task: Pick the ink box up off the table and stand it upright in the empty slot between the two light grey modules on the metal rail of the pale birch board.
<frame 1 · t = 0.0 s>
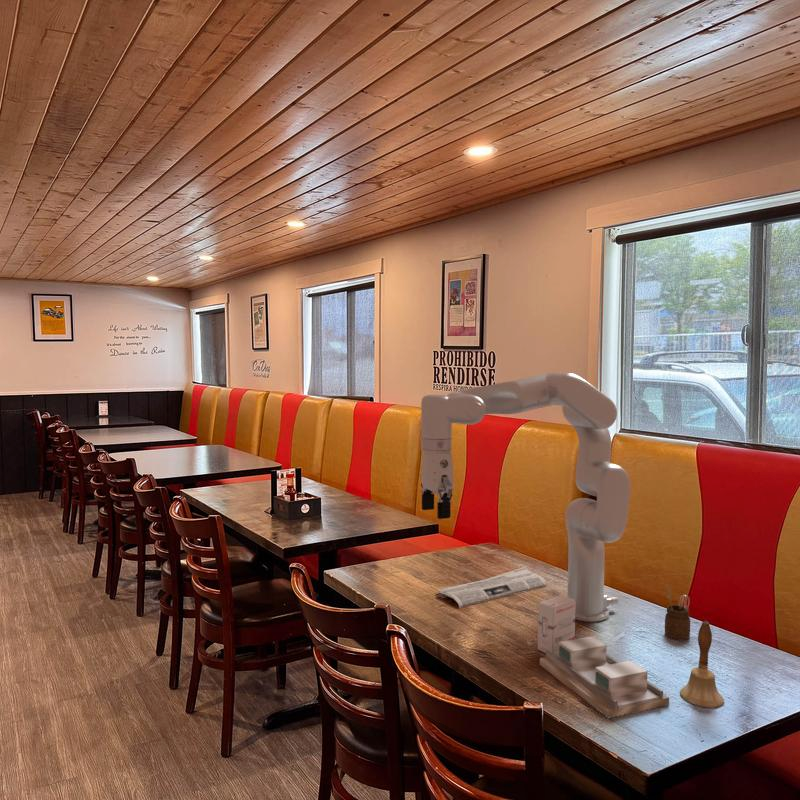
hand: (435, 513, 163), 31 cm above the table, tool pointing down, fingers open, 9 cm apart
rail board: (600, 683, 141), on the table
utensil holder: (676, 636, 166), on the table
ink box: (556, 649, 158), on the table
hand bell: (701, 698, 136), on the table
newspaper: (492, 592, 198), on the table
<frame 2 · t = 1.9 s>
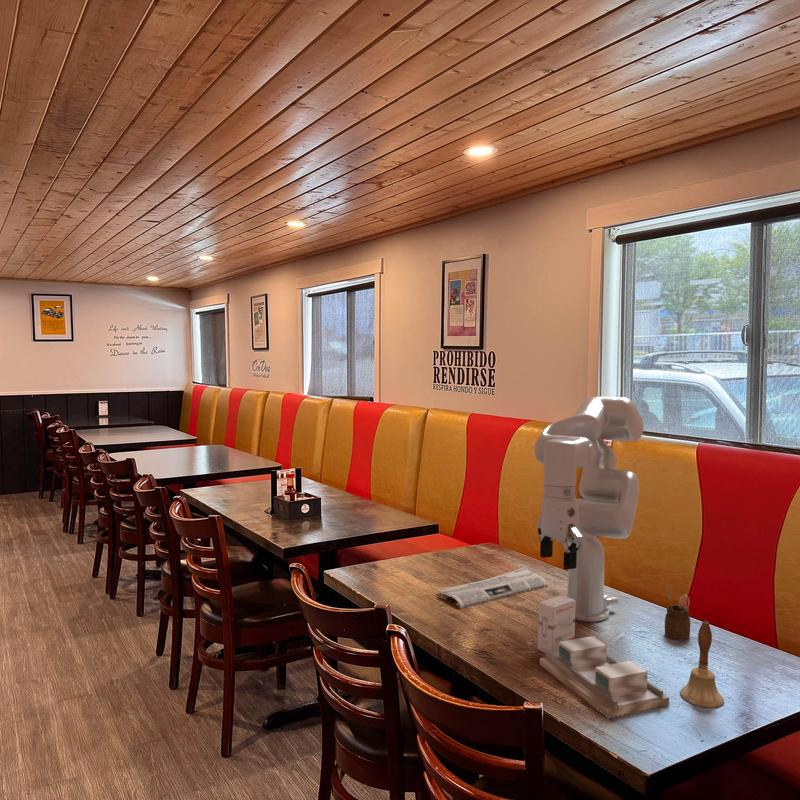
hand: (557, 562, 157), 21 cm above the table, tool pointing down, fingers open, 9 cm apart
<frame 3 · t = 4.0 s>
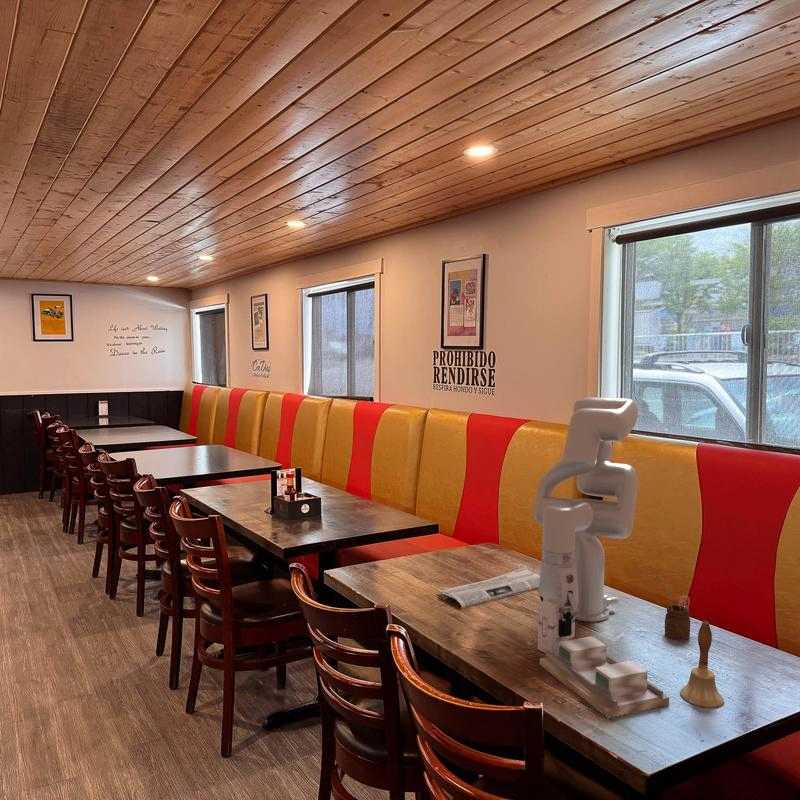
hand: (556, 629, 158), 5 cm above the table, tool pointing down, fingers closed on ink box, 6 cm apart
ink box: (556, 649, 158), on the table, touching gripper
everything else where it was.
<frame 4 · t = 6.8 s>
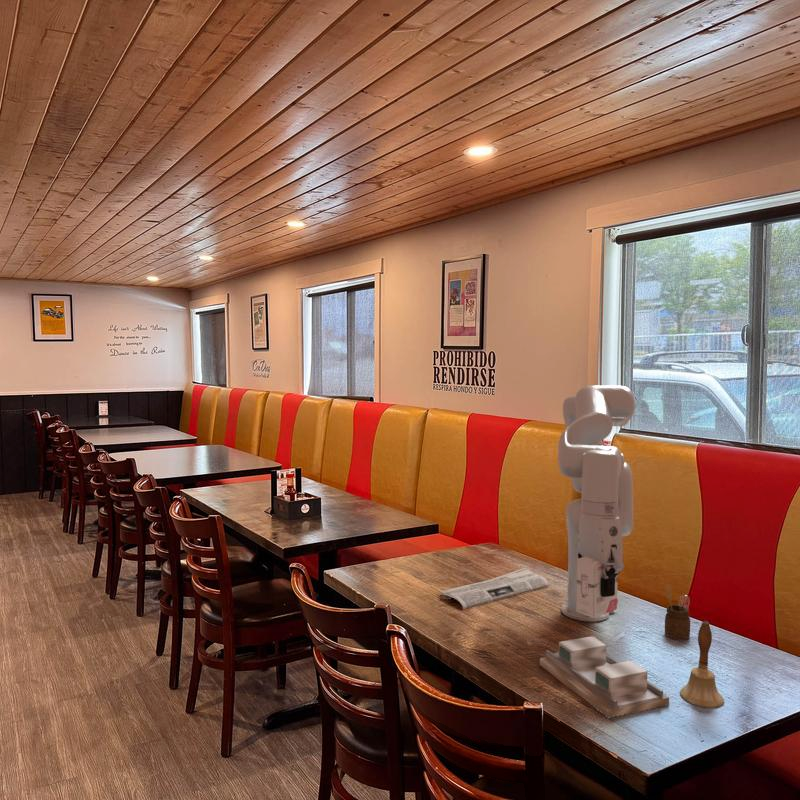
hand: (597, 589, 142), 20 cm above the table, tool pointing down, fingers closed on ink box, 6 cm apart
ink box: (596, 611, 142), point 15 cm above the table, touching gripper
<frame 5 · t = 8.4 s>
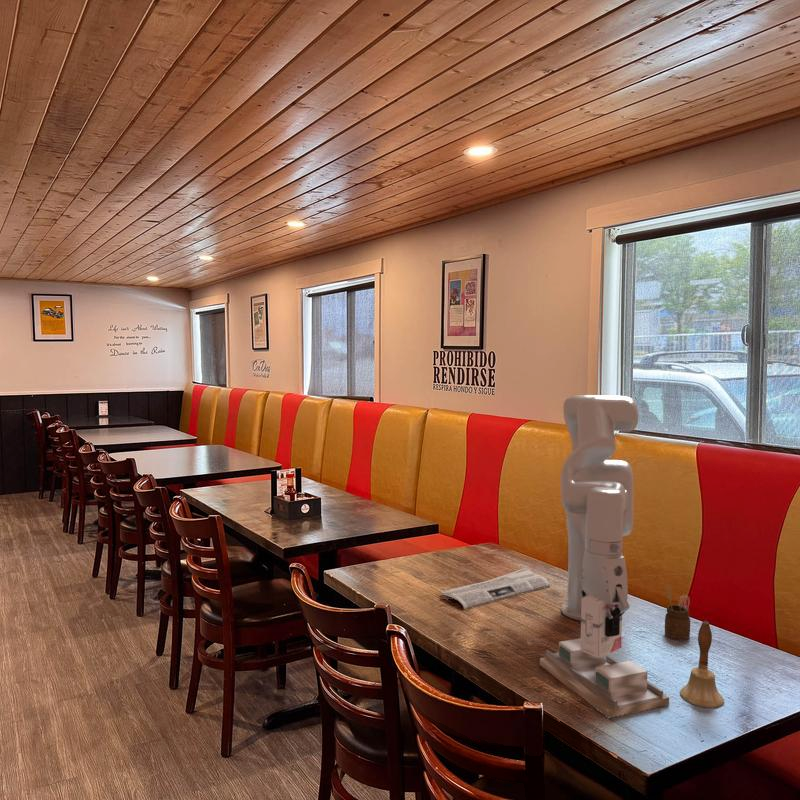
hand: (601, 628, 140), 12 cm above the table, tool pointing down, fingers closed on ink box, 6 cm apart
ink box: (601, 650, 141), point 7 cm above the table, touching gripper
when the fingers open (8 cm above the table, at t = 9.7 s): ink box stays where it is, resting on rail board.
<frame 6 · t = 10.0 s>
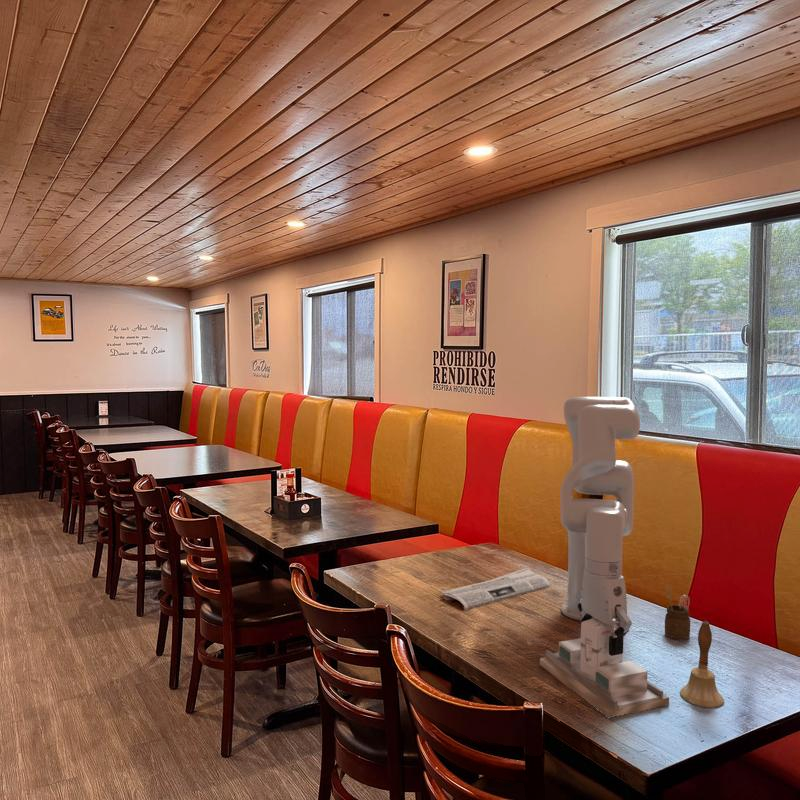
hand: (601, 644, 141), 8 cm above the table, tool pointing down, fingers open, 9 cm apart
ink box: (601, 674, 141), point 2 cm above the table, touching rail board
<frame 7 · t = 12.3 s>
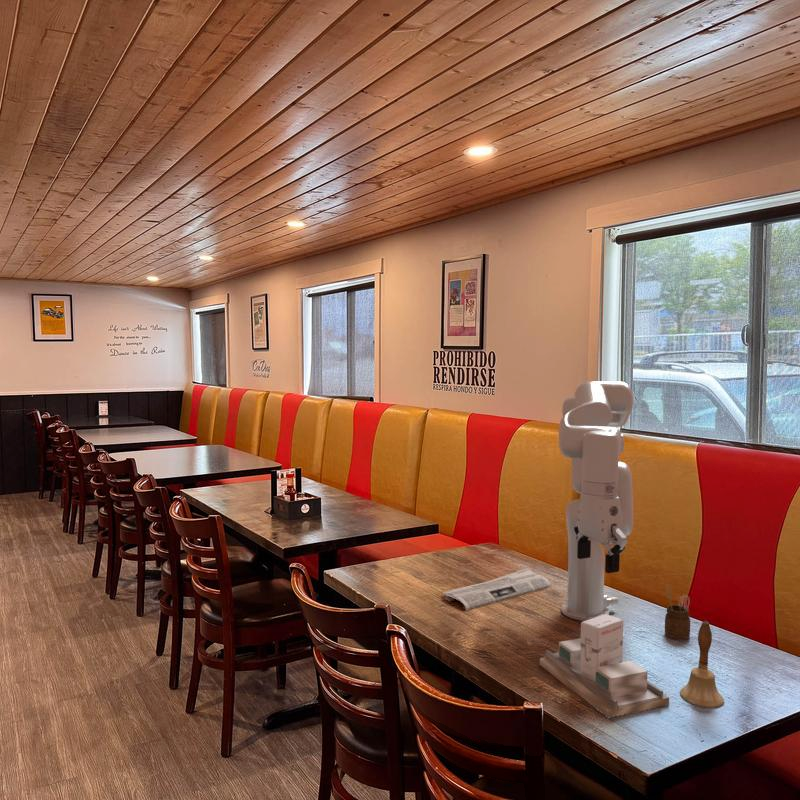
hand: (597, 564, 144), 25 cm above the table, tool pointing down, fingers open, 9 cm apart
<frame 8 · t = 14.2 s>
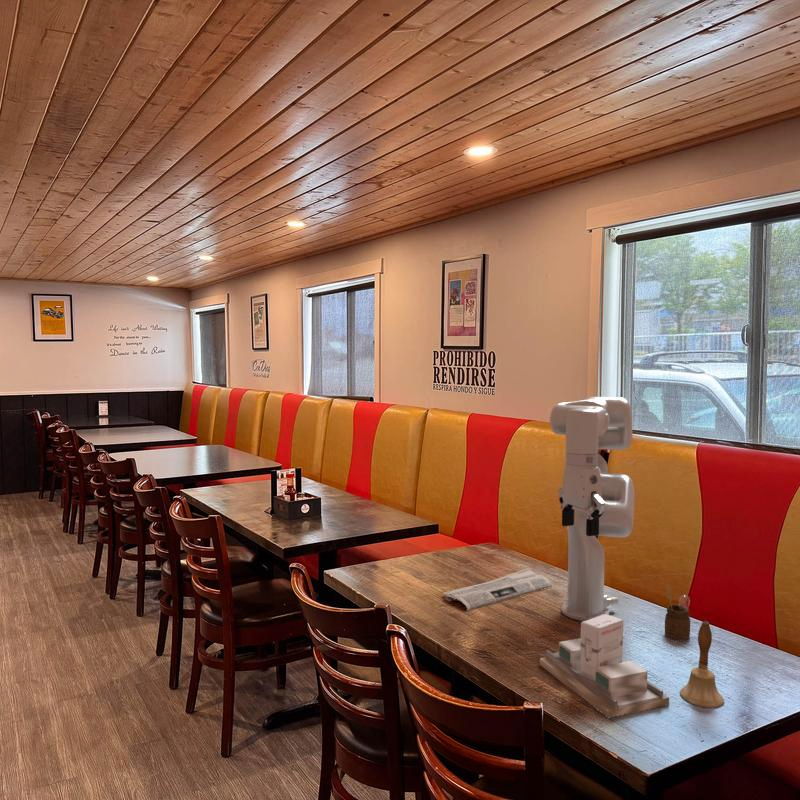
hand: (579, 530, 159), 28 cm above the table, tool pointing down, fingers open, 9 cm apart
at the end: ink box 0.1 cm off-centre on the rail board, point 1.9 cm above the rail board's base; ink box tilted 0°; the gripper is holding nothing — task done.
